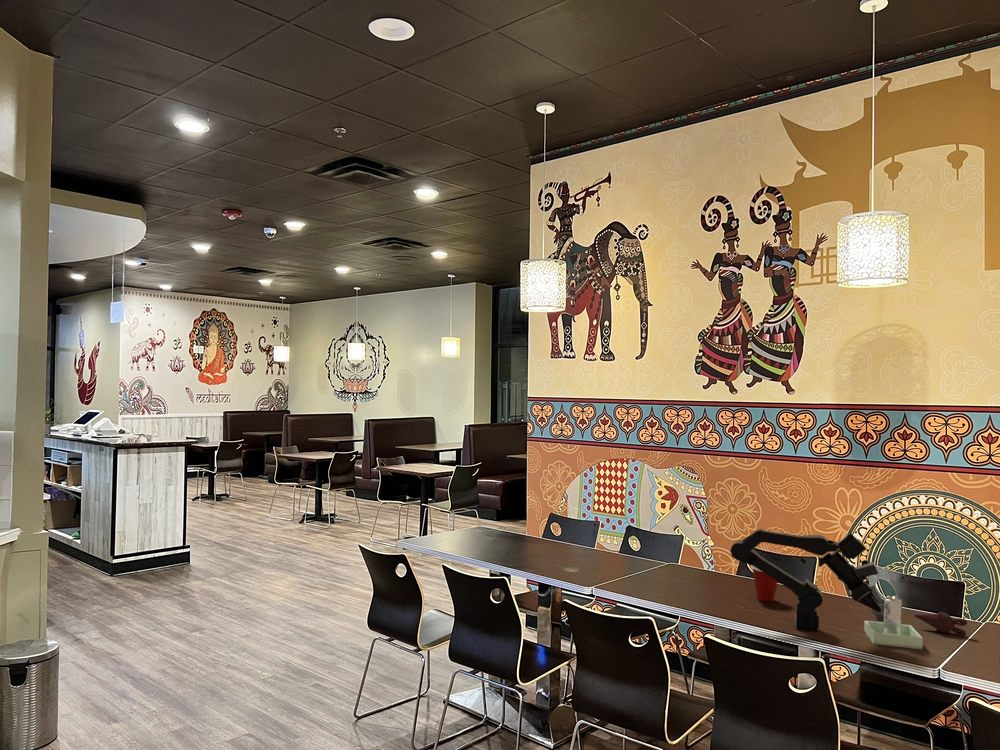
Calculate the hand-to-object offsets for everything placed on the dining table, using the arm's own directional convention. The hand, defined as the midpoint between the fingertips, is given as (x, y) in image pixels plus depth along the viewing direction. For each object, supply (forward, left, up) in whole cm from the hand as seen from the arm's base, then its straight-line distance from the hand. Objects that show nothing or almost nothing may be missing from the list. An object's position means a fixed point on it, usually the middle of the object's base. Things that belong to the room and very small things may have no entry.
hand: (879, 607), depth 232 cm
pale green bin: (+4, 0, -10) cm, 10 cm away
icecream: (+22, +16, -10) cm, 28 cm away
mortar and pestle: (+6, +21, -10) cm, 23 cm away
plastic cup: (-31, +37, -10) cm, 49 cm away
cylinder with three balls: (+4, 0, -9) cm, 10 cm away
